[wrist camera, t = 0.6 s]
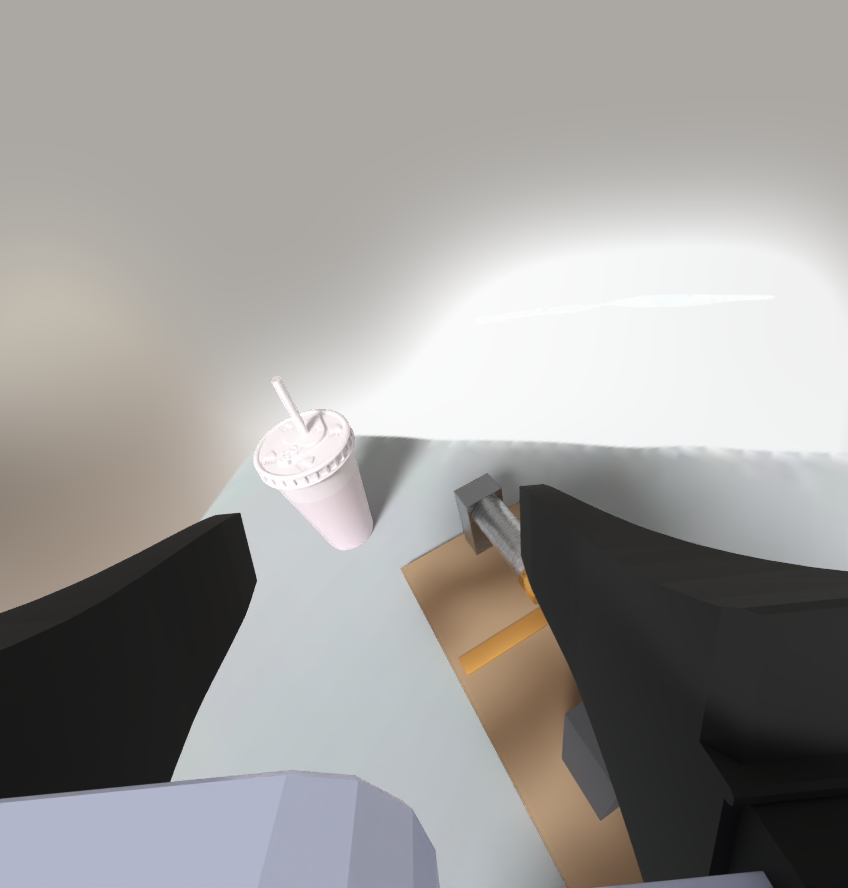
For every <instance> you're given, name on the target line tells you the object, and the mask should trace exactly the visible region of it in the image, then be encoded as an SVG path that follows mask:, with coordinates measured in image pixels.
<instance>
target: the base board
mask: <svg viewBox="0 0 848 888" xmlns="http://www.w3.org/2000/svg"><path fill="white" fill-rule="evenodd" d="M508 509H509V510H510V511H511V512H512V514H513V515H514V516H515V517H516V518H517V519H518V520H519V522H520V502H518V503H516V504H515V505H513V506H511V507H509V508H508ZM401 570H402V572H403V574H404V576H405V578H406V580H407V582H408V584H409V586H410V588H411V590H412V592H413V594H414V596H415V597H416V599H417V601H418V603H419V605H420V607H421V609H422V611H423V613H424V615H425V617H426V618H427V620H428V622H429V624H430V626H431V628H432V630H433V632H434V634H435V636H436V638H437V639H438V641H439V643H440V645H441V647H442V649H443V651H444V653H445V655H446V657H447V659H448V660H449V662H450V664H451V666H452V668H453V670H454V672H455V674H456V676H457V678H458V680H459V681H460V683H461V685H462V687H463V689H464V691H465V693H466V695H467V697H468V699H469V701H470V702H471V704H472V706H473V708H474V710H475V712H476V714H477V716H478V718H479V720H480V722H481V724H482V725H483V727H484V729H485V731H486V733H487V735H488V737H489V739H490V741H491V743H492V745H493V746H494V748H495V750H496V752H497V754H498V756H499V758H500V760H501V762H502V764H503V766H504V767H505V769H506V771H507V773H508V775H509V777H510V779H511V781H512V783H513V785H514V787H515V788H516V790H517V792H518V794H519V796H520V798H521V800H522V802H523V804H524V806H525V808H526V809H527V811H528V813H529V815H530V817H531V819H532V821H533V823H534V825H535V827H536V829H537V830H538V832H539V834H540V836H541V838H542V840H543V842H544V844H545V846H546V848H547V850H548V851H549V853H550V855H551V857H552V859H553V861H554V863H555V865H556V867H557V869H558V871H559V872H560V874H561V876H562V878H563V880H564V882H565V884H566V886H567V888H598V887H608V886H618V885H628V884H638V883H644V882H643V879H642V876H641V873H640V869H639V866H638V863H637V860H636V857H635V853H634V850H633V847H632V844H631V841H630V838H629V834H628V831H627V828H626V825H625V822H624V819H623V816H622V813H621V810H620V807H618V808H617V809H616V810H614V811H613V812H612V813H610V814H609V815H608V816H607V817H605V818H604V819H603V820H601V821H600V820H599V818H598V816H597V815H596V813H595V811H594V810H593V808H592V807H591V805H590V803H589V802H588V800H587V799H586V797H585V795H584V794H583V792H582V791H581V789H580V787H579V786H578V784H577V782H576V781H575V779H574V778H573V776H572V774H571V773H570V771H569V770H568V768H567V766H566V765H565V763H564V761H563V760H562V747H563V733H564V720H565V713H567V712H568V711H570V710H571V709H573V708H574V707H575V706H577V705H578V704H580V703H581V702H583V700H582V698H581V695H580V692H579V689H578V687H577V684H576V682H575V679H574V677H573V675H572V672H571V670H570V668H569V665H568V663H567V661H566V659H565V657H564V655H563V653H562V651H561V649H560V647H559V645H558V643H557V641H556V639H555V637H554V635H553V632H552V630H551V628H550V626H549V624H548V622H547V620H546V618H545V616H544V614H543V612H542V610H541V608H540V606H539V605H537V604H534V603H533V601H532V600H531V599H530V598H529V596H528V595H527V594H526V592H525V591H524V590H523V588H522V587H521V586H520V584H519V582H518V579H519V578H518V577H517V576H516V574H515V573H514V572H513V570H512V569H511V568H510V567H509V565H508V564H507V563H506V561H505V560H504V559H503V557H502V556H501V555H500V554H499V552H498V551H497V550H496V548H495V547H494V546H492V547H491V548H489V549H487V550H485V551H484V552H482V553H480V554H478V555H476V553H475V552H474V550H473V549H472V547H471V546H470V545H469V543H468V542H467V540H466V539H465V535H464V533H463V534H461V535H459V536H458V537H456V538H454V539H452V540H451V541H449V542H447V543H445V544H443V545H442V546H440V547H438V548H436V549H434V550H433V551H431V552H429V553H427V554H426V555H424V556H422V557H420V558H418V559H417V560H415V561H413V562H411V563H410V564H408V565H406V566H404V567H402V568H401Z"/></svg>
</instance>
